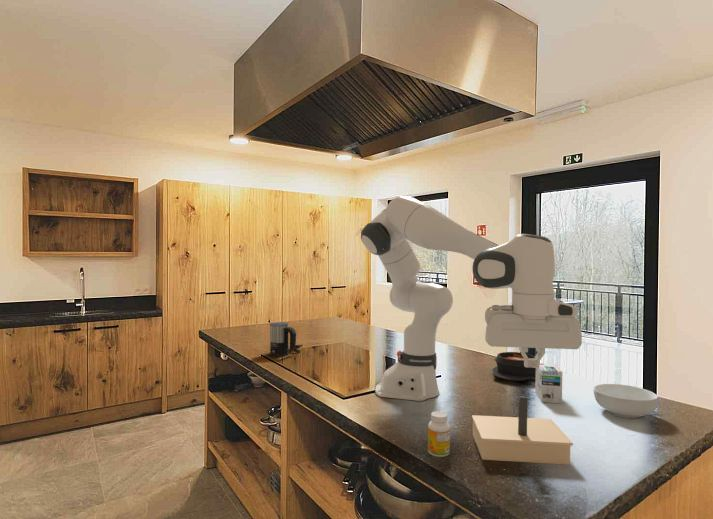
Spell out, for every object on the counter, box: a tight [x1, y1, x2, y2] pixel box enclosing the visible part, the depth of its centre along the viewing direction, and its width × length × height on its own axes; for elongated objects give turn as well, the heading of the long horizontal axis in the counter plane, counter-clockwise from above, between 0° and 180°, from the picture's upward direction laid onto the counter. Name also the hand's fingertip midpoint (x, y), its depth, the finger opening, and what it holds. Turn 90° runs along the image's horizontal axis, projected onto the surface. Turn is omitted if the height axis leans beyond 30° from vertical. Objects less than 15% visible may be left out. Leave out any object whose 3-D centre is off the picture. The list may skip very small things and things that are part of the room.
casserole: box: [492, 351, 536, 382], centre depth 174 cm, size 25×19×8 cm
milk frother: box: [269, 321, 303, 357], centre depth 211 cm, size 14×16×15 cm
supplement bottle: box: [427, 410, 451, 458], centre depth 107 cm, size 5×5×10 cm
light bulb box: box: [534, 362, 563, 404], centre depth 149 cm, size 11×7×11 cm, turn 168°
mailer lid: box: [471, 395, 574, 447], centre depth 109 cm, size 21×15×10 cm
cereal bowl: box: [593, 383, 659, 419], centre depth 135 cm, size 17×17×7 cm
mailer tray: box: [472, 420, 571, 465], centre depth 109 cm, size 20×14×5 cm
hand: (531, 367), depth 98 cm, fingers closed
